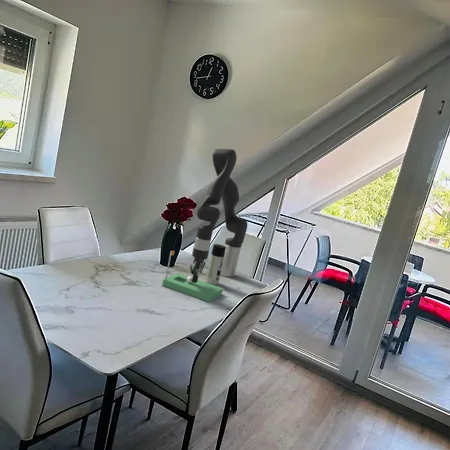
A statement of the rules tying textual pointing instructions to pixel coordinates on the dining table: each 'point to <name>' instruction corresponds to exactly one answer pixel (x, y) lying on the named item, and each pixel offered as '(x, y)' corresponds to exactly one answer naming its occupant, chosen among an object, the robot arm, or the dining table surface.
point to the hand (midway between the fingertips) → (194, 282)
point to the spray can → (215, 264)
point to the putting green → (192, 286)
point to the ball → (189, 279)
